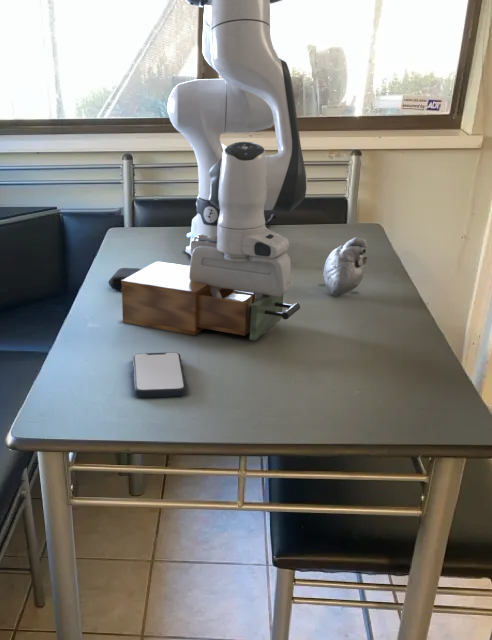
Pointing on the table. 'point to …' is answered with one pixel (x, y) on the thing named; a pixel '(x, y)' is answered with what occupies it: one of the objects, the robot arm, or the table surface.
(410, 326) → the table surface
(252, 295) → the bundle
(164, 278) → the cabinet
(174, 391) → the smartphone
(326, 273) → the heart
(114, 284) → the carrying case
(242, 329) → the drawer
